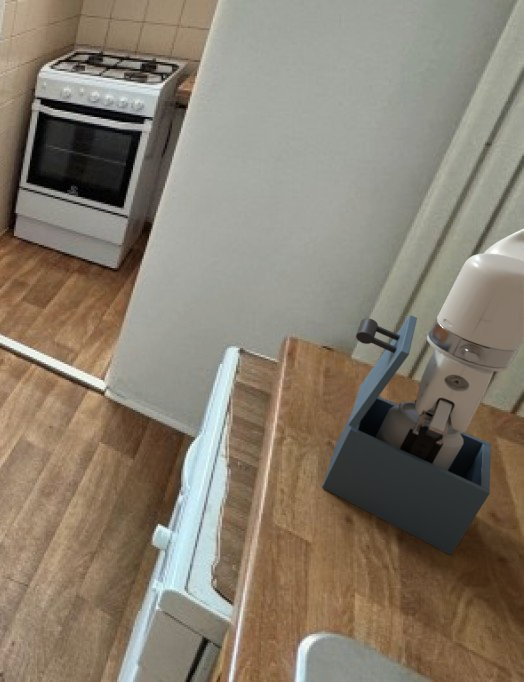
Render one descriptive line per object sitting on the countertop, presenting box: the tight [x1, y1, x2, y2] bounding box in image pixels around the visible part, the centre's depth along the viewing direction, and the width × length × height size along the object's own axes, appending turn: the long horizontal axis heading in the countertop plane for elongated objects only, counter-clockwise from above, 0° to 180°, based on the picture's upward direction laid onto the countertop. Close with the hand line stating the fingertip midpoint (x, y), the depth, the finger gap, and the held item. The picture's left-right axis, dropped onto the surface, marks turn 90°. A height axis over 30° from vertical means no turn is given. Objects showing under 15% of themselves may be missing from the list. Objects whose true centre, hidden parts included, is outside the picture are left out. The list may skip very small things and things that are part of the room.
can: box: [375, 400, 463, 471], centre depth 87 cm, size 8×8×12 cm
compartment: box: [321, 395, 492, 556], centre depth 88 cm, size 14×12×12 cm
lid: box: [348, 314, 418, 428], centre depth 88 cm, size 14×12×5 cm
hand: (417, 441), depth 86 cm, fingers closed on can, 7 cm apart
